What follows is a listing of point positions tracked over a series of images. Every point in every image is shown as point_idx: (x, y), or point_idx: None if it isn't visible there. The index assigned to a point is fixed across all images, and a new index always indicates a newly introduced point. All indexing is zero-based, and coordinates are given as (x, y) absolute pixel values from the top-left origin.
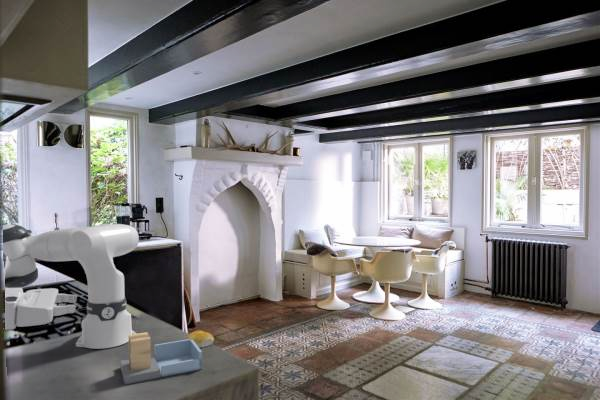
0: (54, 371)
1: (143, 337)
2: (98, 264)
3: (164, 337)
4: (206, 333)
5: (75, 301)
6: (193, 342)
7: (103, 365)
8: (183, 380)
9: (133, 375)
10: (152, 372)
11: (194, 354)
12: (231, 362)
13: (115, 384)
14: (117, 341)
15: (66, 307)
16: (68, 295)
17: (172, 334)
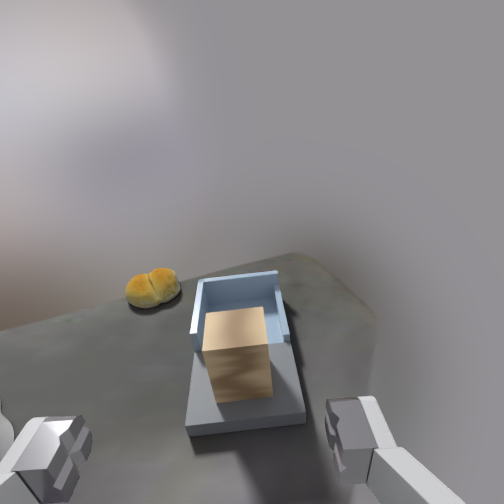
0: None
1: (247, 319)
2: None
3: (64, 341)
4: (163, 269)
5: (90, 442)
6: (222, 278)
7: (136, 491)
8: (317, 320)
9: (301, 392)
10: (293, 356)
11: (242, 291)
12: (268, 266)
13: (296, 447)
14: (2, 443)
15: (404, 457)
16: (9, 480)
17: (62, 327)
